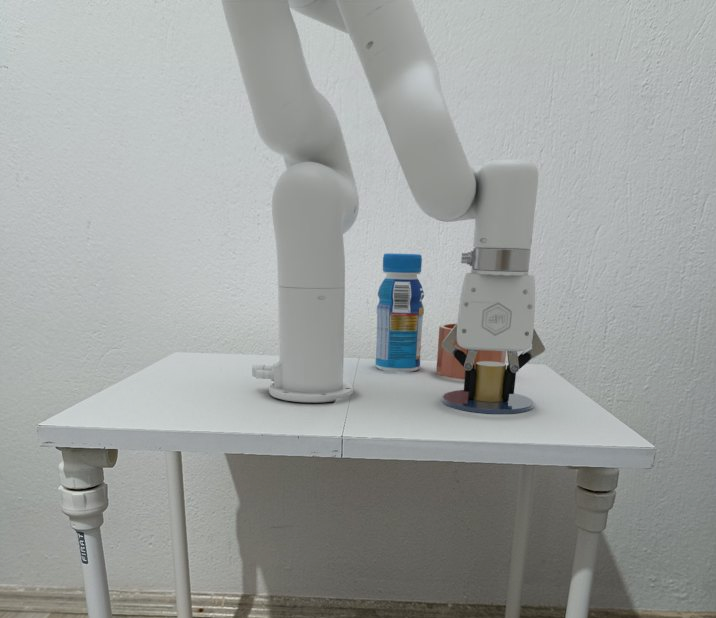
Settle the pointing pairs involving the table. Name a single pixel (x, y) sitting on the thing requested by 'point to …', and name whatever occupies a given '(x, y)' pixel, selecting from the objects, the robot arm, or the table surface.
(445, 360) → the tin
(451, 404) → the cover
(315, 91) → the robot arm
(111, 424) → the table surface
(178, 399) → the table surface
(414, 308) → the beverage bottle
